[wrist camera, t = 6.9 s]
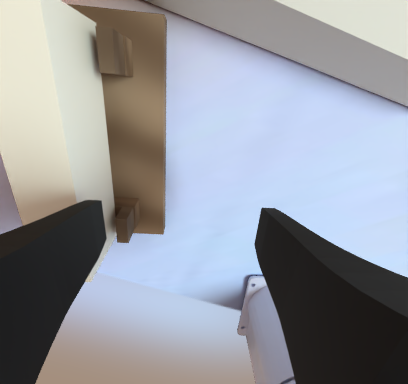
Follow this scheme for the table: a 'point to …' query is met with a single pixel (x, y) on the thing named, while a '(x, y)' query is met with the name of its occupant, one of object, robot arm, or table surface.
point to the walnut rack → (134, 113)
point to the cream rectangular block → (53, 112)
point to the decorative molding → (319, 35)
